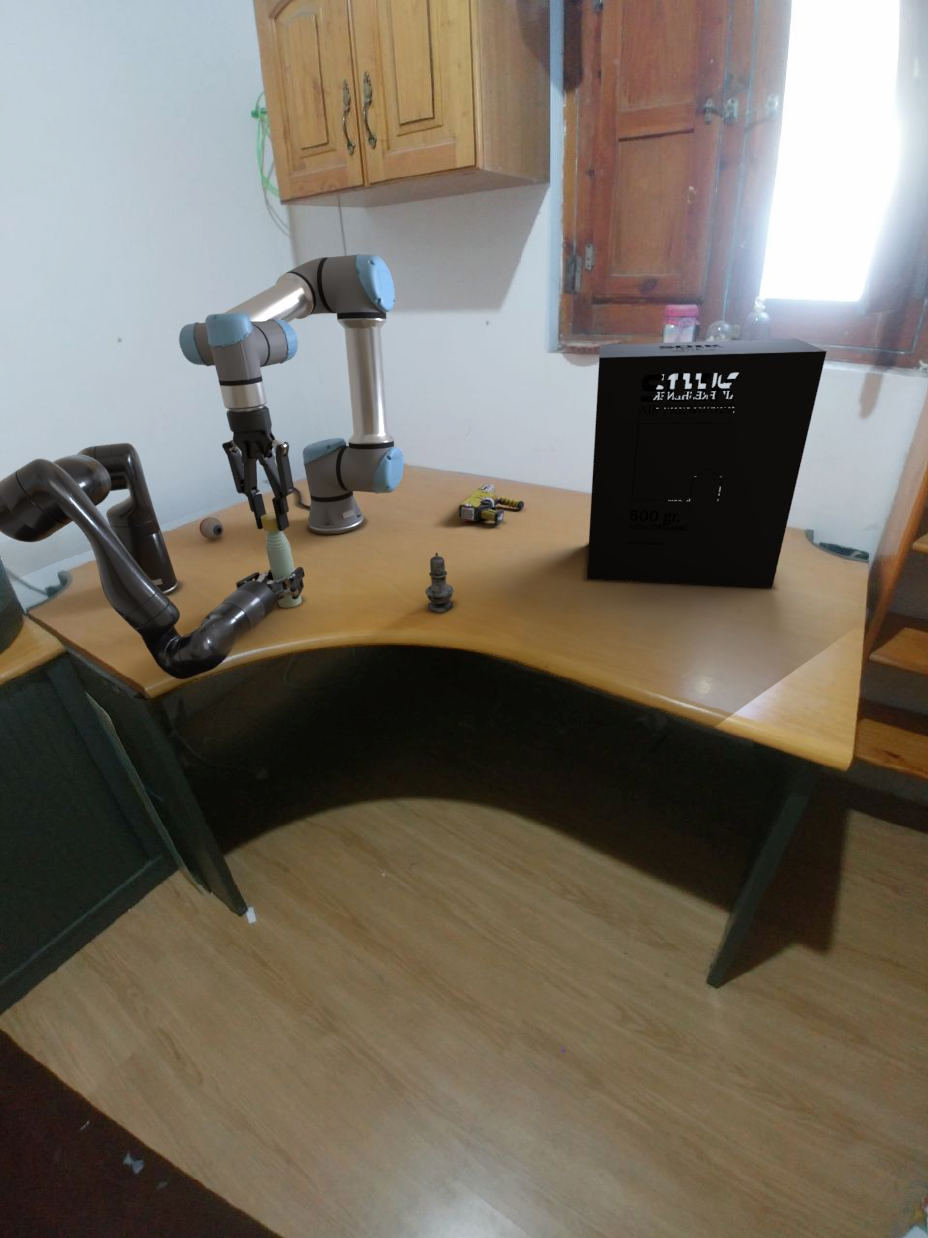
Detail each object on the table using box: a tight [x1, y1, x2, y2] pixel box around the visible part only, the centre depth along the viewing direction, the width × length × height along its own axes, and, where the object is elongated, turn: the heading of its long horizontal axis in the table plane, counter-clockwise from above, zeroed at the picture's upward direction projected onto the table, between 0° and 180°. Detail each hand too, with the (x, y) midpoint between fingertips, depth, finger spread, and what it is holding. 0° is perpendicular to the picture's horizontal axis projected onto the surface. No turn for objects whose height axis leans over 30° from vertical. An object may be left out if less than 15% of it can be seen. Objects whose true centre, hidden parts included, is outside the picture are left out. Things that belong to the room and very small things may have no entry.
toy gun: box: [457, 482, 525, 525], centre depth 171 cm, size 5×24×15 cm
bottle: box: [265, 530, 302, 609], centre depth 126 cm, size 5×5×19 cm
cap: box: [261, 512, 279, 532], centre depth 121 cm, size 4×4×2 cm
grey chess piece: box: [424, 552, 455, 613], centre depth 122 cm, size 6×6×12 cm
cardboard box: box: [586, 338, 828, 589], centre depth 126 cm, size 38×20×45 cm, turn 78°
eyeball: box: [198, 516, 224, 541], centre depth 163 cm, size 6×6×6 cm
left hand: (290, 570), depth 129 cm, fingers closed on bottle, 4 cm apart
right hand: (273, 527), depth 122 cm, fingers open, 4 cm apart
